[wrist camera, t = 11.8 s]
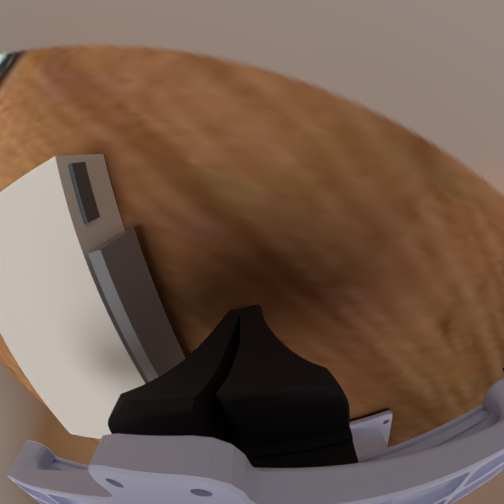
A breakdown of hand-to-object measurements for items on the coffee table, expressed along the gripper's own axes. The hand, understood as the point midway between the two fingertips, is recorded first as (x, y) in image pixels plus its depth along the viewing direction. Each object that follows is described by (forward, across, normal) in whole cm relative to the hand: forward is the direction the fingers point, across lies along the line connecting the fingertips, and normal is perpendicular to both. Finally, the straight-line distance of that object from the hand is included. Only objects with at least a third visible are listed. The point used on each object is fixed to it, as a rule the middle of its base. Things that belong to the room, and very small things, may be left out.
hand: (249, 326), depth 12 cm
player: (+2, +9, -2) cm, 10 cm away
